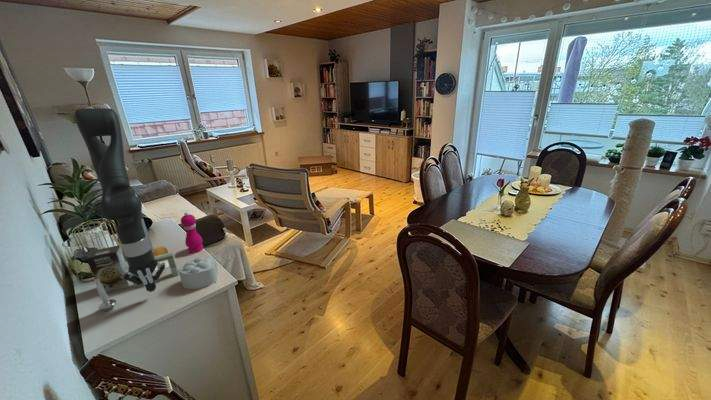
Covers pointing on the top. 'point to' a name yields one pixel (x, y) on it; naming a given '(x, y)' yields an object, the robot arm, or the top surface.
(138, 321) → the top surface
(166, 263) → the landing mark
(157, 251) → the ball
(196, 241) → the pepper mill
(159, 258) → the bridge
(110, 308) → the screw
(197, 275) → the lumpy-topped squat cylinder
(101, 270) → the coffee box
